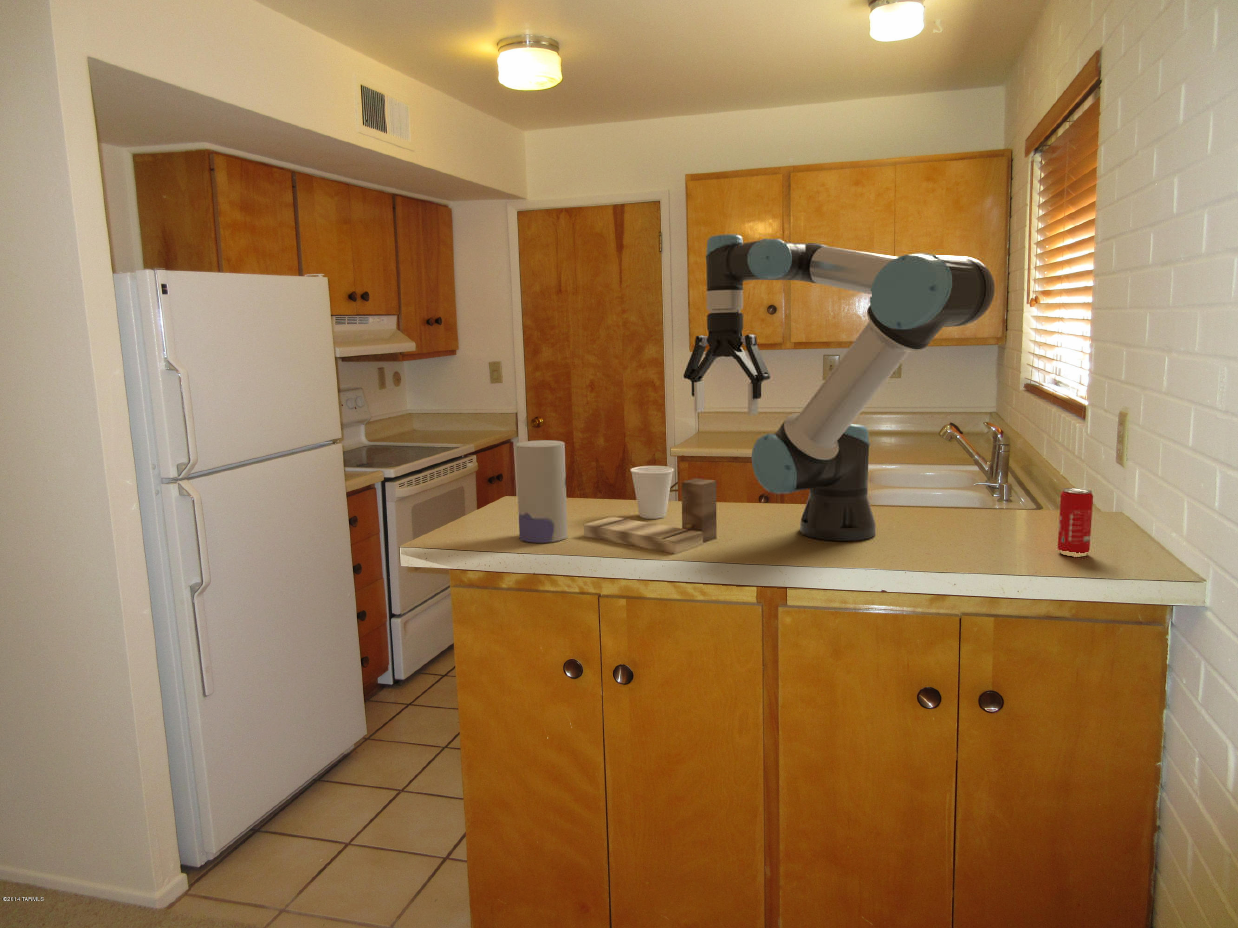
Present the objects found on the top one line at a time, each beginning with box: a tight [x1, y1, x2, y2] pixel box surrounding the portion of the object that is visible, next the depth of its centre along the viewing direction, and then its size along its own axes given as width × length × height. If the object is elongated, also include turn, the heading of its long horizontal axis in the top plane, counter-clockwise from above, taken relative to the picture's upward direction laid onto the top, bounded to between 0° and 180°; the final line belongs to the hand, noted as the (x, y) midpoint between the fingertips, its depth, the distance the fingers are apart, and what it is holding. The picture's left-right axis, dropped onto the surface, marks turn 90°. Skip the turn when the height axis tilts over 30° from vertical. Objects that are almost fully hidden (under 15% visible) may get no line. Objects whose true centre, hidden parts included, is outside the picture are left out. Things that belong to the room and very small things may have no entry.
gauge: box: [681, 478, 718, 544], centre depth 172 cm, size 5×6×12 cm
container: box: [515, 439, 568, 544], centre depth 176 cm, size 10×10×20 cm
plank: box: [583, 516, 704, 555], centre depth 174 cm, size 24×9×3 cm, turn 49°
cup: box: [630, 465, 675, 520], centre depth 195 cm, size 10×10×11 cm
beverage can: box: [1057, 487, 1094, 553], centre depth 156 cm, size 5×5×12 cm
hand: (725, 413), depth 181 cm, fingers open, 13 cm apart
